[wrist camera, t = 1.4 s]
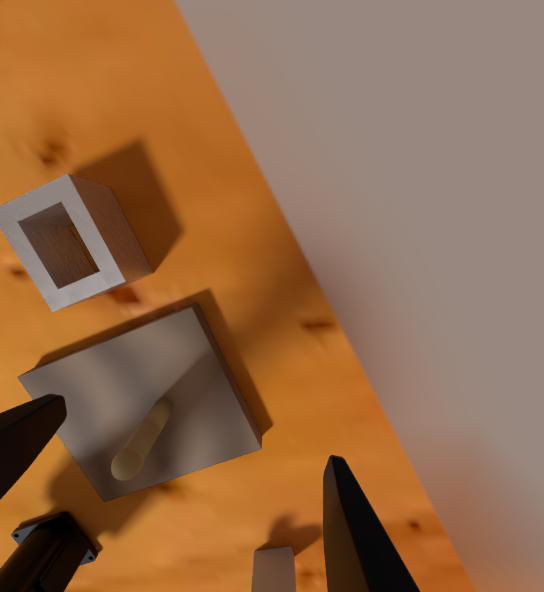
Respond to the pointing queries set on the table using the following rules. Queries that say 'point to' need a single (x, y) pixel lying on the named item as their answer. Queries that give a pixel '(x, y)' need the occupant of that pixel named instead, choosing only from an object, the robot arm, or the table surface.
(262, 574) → the lighter
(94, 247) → the steel link
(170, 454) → the grey peg stand
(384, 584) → the robot arm
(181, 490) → the table surface
